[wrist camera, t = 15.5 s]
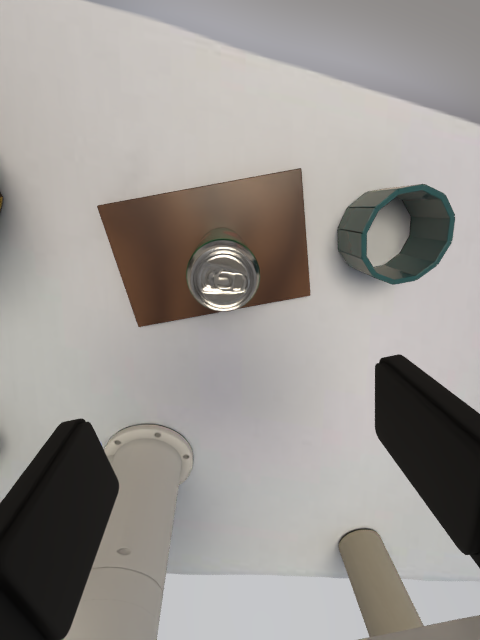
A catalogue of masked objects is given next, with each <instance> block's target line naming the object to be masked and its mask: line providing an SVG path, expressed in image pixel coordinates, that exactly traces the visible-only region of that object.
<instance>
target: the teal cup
mask: <svg viewBox="0 0 480 640" xmlns="http://www.w3.org/2000/svg"><path fill="white" fill-rule="evenodd" d="M395 197H396V198H398V199H400V200H402V201H403V202H404V204H405V206H406V208H407V210H408V212H409V214H410V215H411V224H410V236H409V238H408V240H407V242H406V243H405V245H404V247H403V249H402V250H401V252H400V254H398V255H397V256H396V257H394V258H393V259H392V260H390V261H389V262H388V263H386V264H385V265H382V266H376V267H373V266H372V264H371V263H370V261H369V259H368V258H367V232H368V230H369V228H370V226H371V224H372V222H373V220H374V218H375V216H376V215H377V213H378V211H379V210H380V209H381V208H383V207H384V206H385V205H386V204H388V203H389V202H390V201H391V200H393V199H394V198H395ZM454 216H455V214H454V212H453V210H452V207H451V205H450V203H449V201H448V199H447V197H446V195H445V194H444V193H442V192H440V191H438V190H436V189H434V188H432V187H430V186H428V185H425V184H418V185H410V186H401V187H392V188H385V189H379V190H374V191H369V192H366V193H364V194H363V195H362V196H361V197H360V198H358V199H357V200H356V201H355V202H353V203H352V204H351V205H350V206H349V207H348V208H347V210H346V212H345V214H344V216H343V218H342V220H341V222H340V225H339V227H338V250H339V252H340V254H341V255H342V257H343V258H344V260H345V261H346V263H347V264H348V266H350V267H352V268H354V269H356V270H359V271H361V272H363V273H365V274H367V275H370V276H372V277H374V278H377V279H379V280H382V281H384V282H387V283H389V284H400V283H405V282H411V281H415V280H418V279H419V278H420V277H422V276H423V275H425V274H426V273H427V272H429V271H430V270H432V269H433V268H434V267H436V266H437V265H436V264H439V262H440V261H441V259H442V257H443V256H444V254H445V252H446V251H447V249H448V248H449V246H450V244H451V241H452V238H453V231H454V223H455V217H454Z"/></svg>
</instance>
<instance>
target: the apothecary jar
mask: <svg viewBox="0 0 480 640" xmlns="http://www.w3.org/2000/svg"><path fill="white" fill-rule="evenodd" d="M2 202H3V196H2V194H1V193H0V211H1V207H2Z"/></svg>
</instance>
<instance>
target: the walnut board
mask: <svg viewBox="0 0 480 640" xmlns="http://www.w3.org/2000/svg"><path fill="white" fill-rule="evenodd" d="M97 207H98V210H99V213H100V216H101V219H102V222H103V225H104V228H105V231H106V234H107V236H108V239H109V242H110V245H111V248H112V251H113V254H114V257H115V260H116V263H117V266H118V268H119V271H120V274H121V277H122V280H123V283H124V286H125V289H126V292H127V295H128V298H129V300H130V303H131V306H132V309H133V312H134V315H135V318H136V321H137V324H138V327H141V326H147V325H152V324H158V323H163V322H168V321H174V320H179V319H185V318H190V317H196V316H201V315H207V314H212V313H217V312H221V311H215V310H211V309H209V308H207V307H205V306H203V305H202V304H200V303H199V302H198V301H197V300H196V299H195V298H194V297H193V295H192V294H191V292H190V290H189V288H188V284H187V279H186V270H187V265H188V262H189V260H190V258H191V256H192V254H193V252H194V251H195V249H196V247H197V246H198V244H199V242H200V240H201V239H202V237H203V236H204V235H205V234H206V233H207V232H209V231H211V230H213V229H216V228H227V229H231V230H233V231H235V232H236V233H237V234H239V235H240V237H241V238H242V239H243V240H244V242H245V243H246V245H247V246H248V247H249V249H250V250H251V252H252V253H253V254H254V256H255V258H256V259H257V262H258V265H259V269H260V282H259V286H258V289H257V291H256V293H255V295H254V296H253V297H252V299H251V300H250V301H249V302H248V303H246V304H245V305H244V306H242V307H240V308H245V307H250V306H255V305H261V304H266V303H272V302H277V301H283V300H288V299H293V298H299V297H304V296H310V282H309V269H308V255H307V241H306V227H305V213H304V200H303V186H302V172H301V168H299V169H294V170H289V171H283V172H278V173H272V174H267V175H261V176H256V177H250V178H245V179H240V180H234V181H229V182H223V183H218V184H212V185H207V186H201V187H196V188H191V189H185V190H180V191H174V192H169V193H163V194H158V195H153V196H147V197H142V198H136V199H131V200H125V201H120V202H114V203H109V204H104V205H98V206H97ZM238 309H239V308H238Z"/></svg>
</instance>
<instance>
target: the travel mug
mask: <svg viewBox="0 0 480 640" xmlns="http://www.w3.org/2000/svg"><path fill="white" fill-rule="evenodd" d="M339 550H340V553H341V556H342V559H343V562H344V565H345V568H346V571H347V573H348V576H349V579H350V582H351V585H352V587H353V591H354V593H355V596H356V599H357V602H358V605H359V608H360V611H361V613H362V616H363V619H364V622H365V625H366V628H367V630H368V633H369V636H370V637H373V636H378V635H383V634H388V633H393V632H398V631H403V630H408V629H413V628H418V627H422V626H423V623H422V621H421V619H420V617H419V616H418V613H417V611H416V609H415V607H414V605H413V603H412V601H411V599H410V597H409V595H408V593H407V591H406V589H405V587H404V585H403V582H402V580H401V578H400V576H399V574H398V572H397V570H396V568H395V566H394V564H393V562H392V560H391V558H390V556H389V554H388V552H387V550H386V548H385V546H384V543H383V541H382V539H381V537H380V535H379V534H378V533H377V532H375V531H372V530H356V531H354V532H351V533H349V534H347V535H346V536H345V537H344V538H343V539H342V540H341V541H340V543H339Z"/></svg>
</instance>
